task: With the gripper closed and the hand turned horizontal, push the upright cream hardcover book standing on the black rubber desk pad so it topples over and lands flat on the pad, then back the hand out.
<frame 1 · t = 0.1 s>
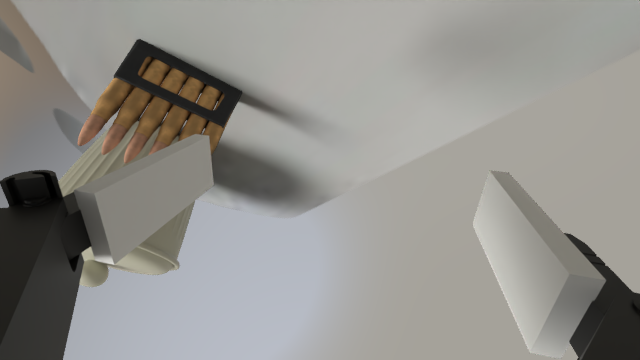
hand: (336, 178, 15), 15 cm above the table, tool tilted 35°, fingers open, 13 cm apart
ammunition clip: (192, 70, 32), on the table
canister: (163, 143, 47), on the table
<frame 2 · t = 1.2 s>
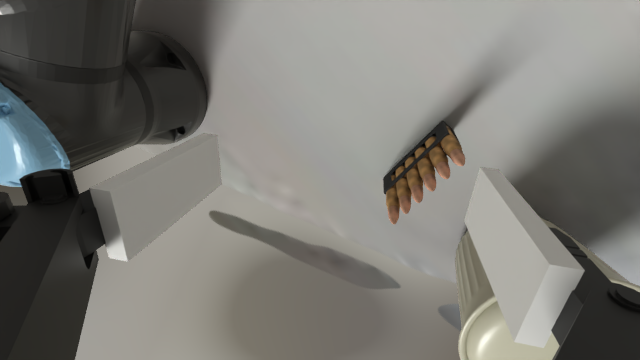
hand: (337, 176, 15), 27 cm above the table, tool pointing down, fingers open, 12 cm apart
ammunition clip: (416, 154, 41), on the table
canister: (503, 247, 43), on the table
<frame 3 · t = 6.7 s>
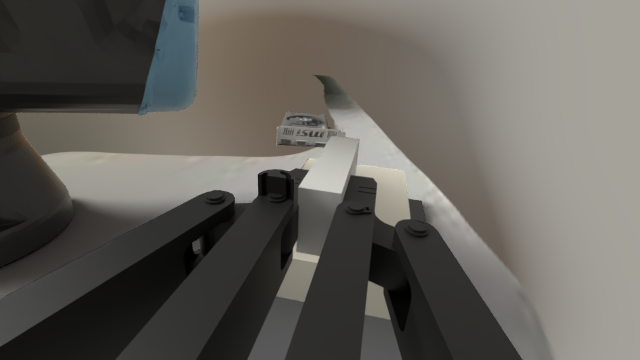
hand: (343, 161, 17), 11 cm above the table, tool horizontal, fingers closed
book: (325, 286, 20), point 2 cm above the table, tilted 90°, touching desk pad
graphics card: (310, 137, 61), on the table
desk pad: (334, 265, 25), on the table
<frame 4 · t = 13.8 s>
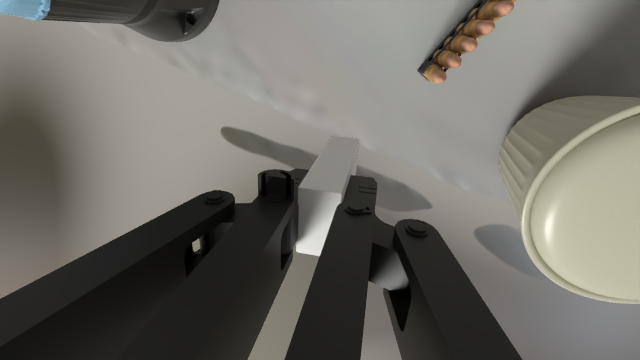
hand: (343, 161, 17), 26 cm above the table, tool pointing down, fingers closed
ammunition clip: (456, 37, 36), on the table
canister: (552, 148, 39), on the table
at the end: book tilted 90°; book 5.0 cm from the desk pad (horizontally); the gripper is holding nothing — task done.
